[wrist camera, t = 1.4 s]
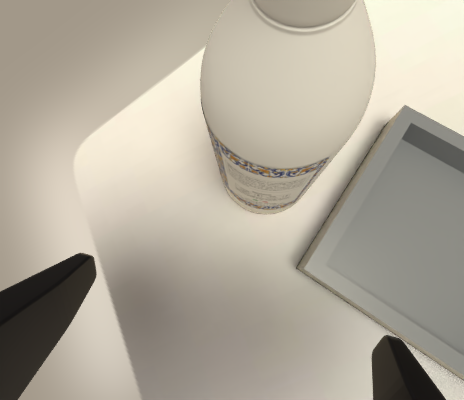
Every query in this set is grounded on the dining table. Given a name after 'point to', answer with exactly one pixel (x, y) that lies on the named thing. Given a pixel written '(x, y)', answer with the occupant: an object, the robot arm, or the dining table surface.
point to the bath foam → (284, 93)
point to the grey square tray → (402, 238)
